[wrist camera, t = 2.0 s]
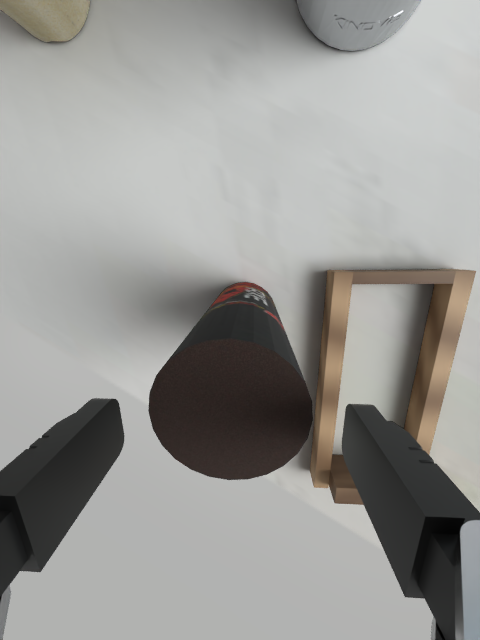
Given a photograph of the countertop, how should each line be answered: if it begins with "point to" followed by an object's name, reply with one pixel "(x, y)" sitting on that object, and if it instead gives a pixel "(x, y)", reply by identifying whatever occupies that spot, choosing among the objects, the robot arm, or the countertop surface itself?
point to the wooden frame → (430, 371)
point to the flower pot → (48, 17)
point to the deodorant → (233, 391)
